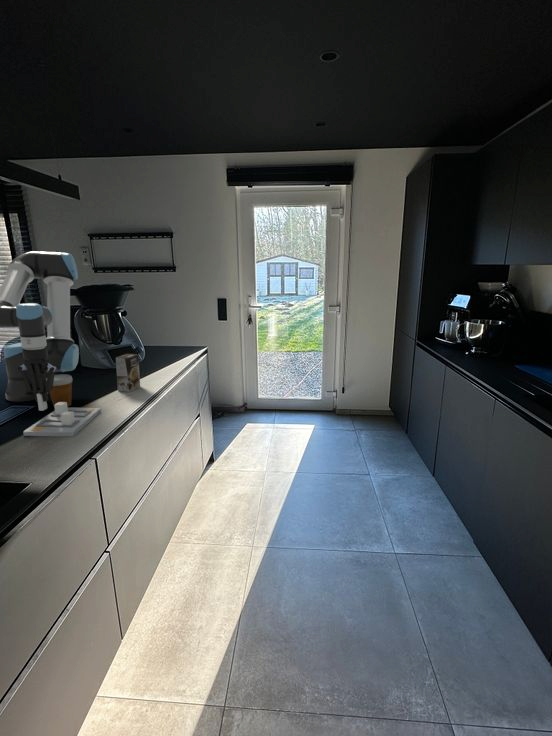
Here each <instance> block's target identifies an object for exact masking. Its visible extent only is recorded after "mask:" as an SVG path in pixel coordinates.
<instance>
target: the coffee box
mask: <svg viewBox="0 0 552 736" xmlns="http://www.w3.org/2000/svg"><path fill="white" fill-rule="evenodd" d="M139 361H140V360H139V353H138V354H137V353H124V354H122V355H119V356H116V357H115V367H116V370H115V371H116V381H117V391H121V392H127V393H130V392H132V391H134V390H136V389H138V388H140V387H141V377H140V375H141V374H140V362H139Z"/></svg>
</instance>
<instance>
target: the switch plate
mask: <svg viewBox="0 0 552 736" xmlns="http://www.w3.org/2000/svg"><path fill="white" fill-rule="evenodd" d="M101 409H102V408H101V407H68V412H74V418H75V422H74V423H73V424H72V425H62V422H61V415H56V414H55V409H54V410H53V411H52V412H50V413H49V414H47V415H45V416H44V417H42V418H41V419H39V420H38V421H36V422H35V423H34V424H32V425H31V426H29V427H28V428H26V429H25V430H23V432H22V433H23V437H27V436H28V437H71V438H72V437H74V436H75V435H76V434H78V433H79V432H80V431H81V430H82V429H83V428H84V427H85V426H87V425H88V423H90V422H91V421H92V420H94V419H95V417H97V416H98V415H99V414H100V413H102V412H101V411H102V410H101Z"/></svg>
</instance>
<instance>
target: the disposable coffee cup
mask: <svg viewBox="0 0 552 736" xmlns="http://www.w3.org/2000/svg"><path fill="white" fill-rule="evenodd" d="M46 380H47V378H46ZM72 385H73V377H72V375H70V374H65V373H63V374H55V375H54V383H53V389H52V390H51V391H49V392H48V393H49V395H50V399H51V402H52V405H53V407H54V405H55V404H56V403H58V402H67V407H68V408H69V406H71V405H72V390H73V388H72V387H73V386H72Z"/></svg>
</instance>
